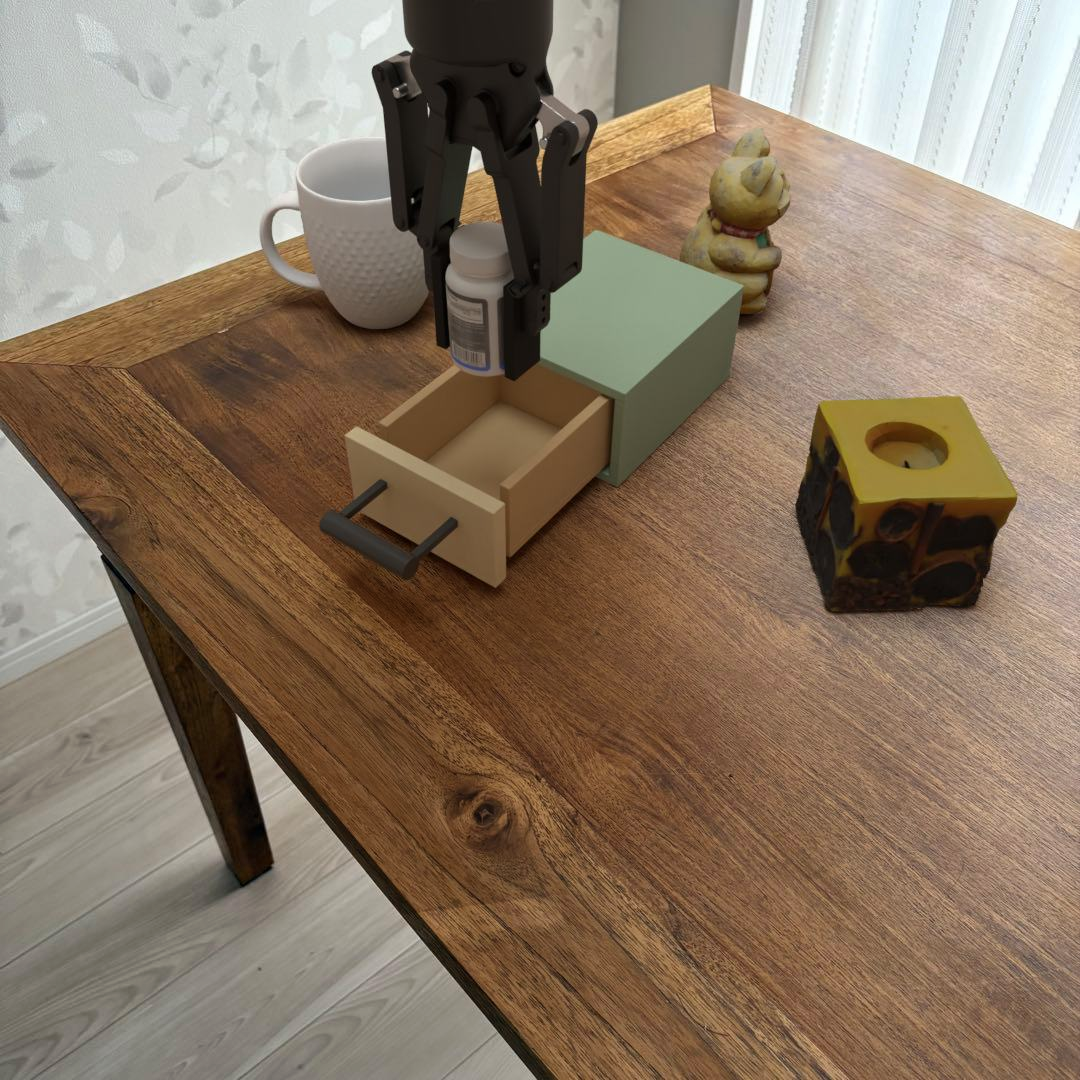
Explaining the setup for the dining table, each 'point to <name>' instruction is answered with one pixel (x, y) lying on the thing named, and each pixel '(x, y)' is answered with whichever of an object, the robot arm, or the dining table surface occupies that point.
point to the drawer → (473, 468)
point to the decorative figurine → (742, 221)
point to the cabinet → (641, 341)
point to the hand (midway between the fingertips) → (488, 352)
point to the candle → (901, 503)
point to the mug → (351, 235)
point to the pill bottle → (477, 297)
